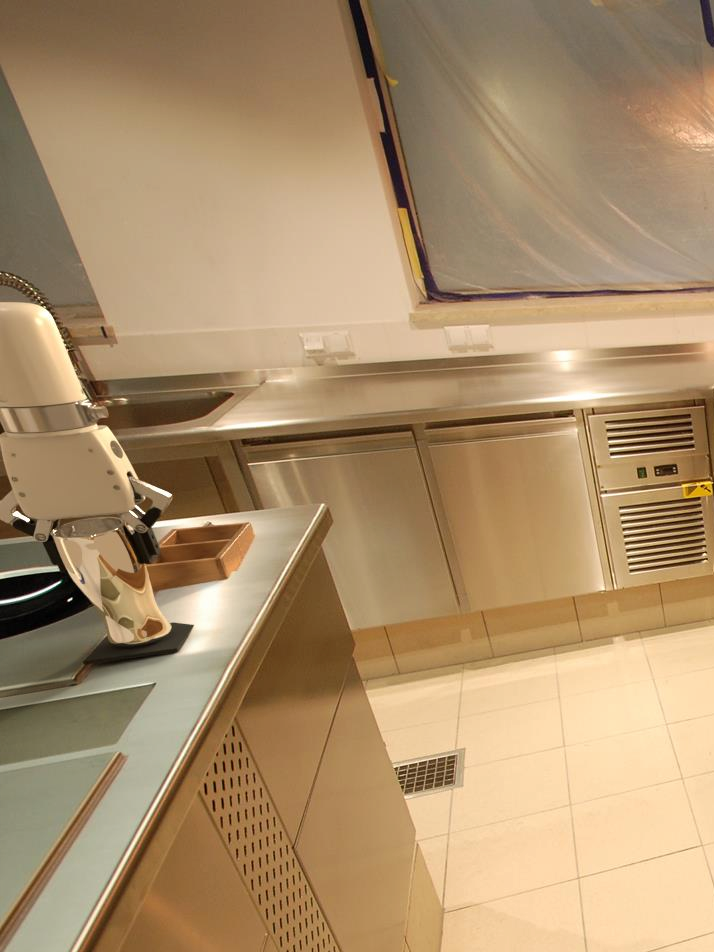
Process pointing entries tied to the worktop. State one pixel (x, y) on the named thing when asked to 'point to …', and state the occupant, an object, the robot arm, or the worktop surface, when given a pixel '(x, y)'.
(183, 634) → the mat
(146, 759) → the worktop surface
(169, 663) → the worktop surface
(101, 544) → the beer glass
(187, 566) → the wooden divided tray
